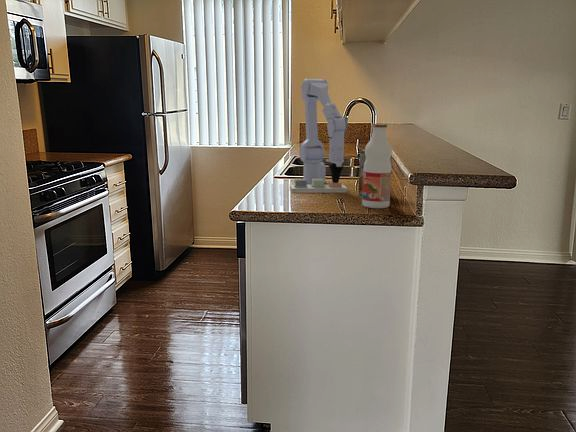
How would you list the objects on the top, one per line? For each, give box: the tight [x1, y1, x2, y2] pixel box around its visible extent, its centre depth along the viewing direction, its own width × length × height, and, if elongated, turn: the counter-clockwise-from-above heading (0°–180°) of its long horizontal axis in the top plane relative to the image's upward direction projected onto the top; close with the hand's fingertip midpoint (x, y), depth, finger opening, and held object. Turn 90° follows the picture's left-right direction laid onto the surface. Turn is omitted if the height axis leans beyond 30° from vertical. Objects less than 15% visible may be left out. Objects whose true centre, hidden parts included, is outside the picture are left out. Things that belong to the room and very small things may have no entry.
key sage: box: [312, 179, 325, 186], centre depth 207 cm, size 4×4×2 cm
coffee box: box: [358, 151, 366, 196], centre depth 198 cm, size 9×6×16 cm
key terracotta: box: [328, 181, 343, 187], centre depth 208 cm, size 4×4×2 cm
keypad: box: [289, 183, 348, 194], centre depth 208 cm, size 22×10×2 cm, turn 95°
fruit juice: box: [361, 123, 393, 209], centre depth 175 cm, size 9×9×28 cm
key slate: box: [294, 178, 308, 186], centre depth 206 cm, size 4×4×2 cm
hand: (335, 182), depth 208 cm, fingers closed, pressing on key terracotta
